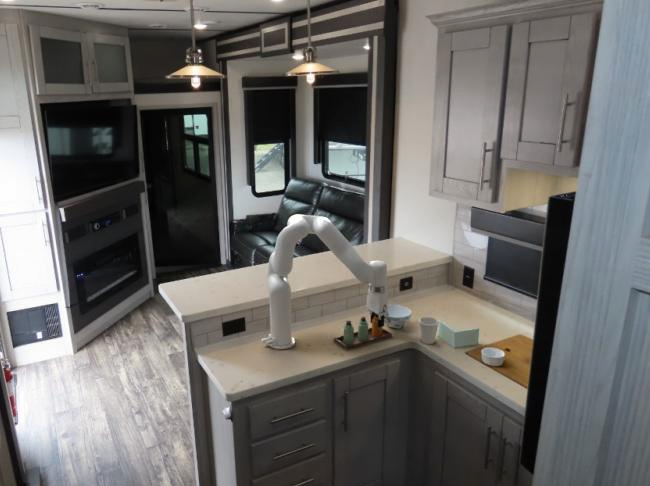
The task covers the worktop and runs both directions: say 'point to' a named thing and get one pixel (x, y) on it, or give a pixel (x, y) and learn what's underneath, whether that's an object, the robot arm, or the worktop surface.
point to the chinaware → (397, 316)
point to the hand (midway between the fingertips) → (377, 324)
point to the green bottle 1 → (348, 333)
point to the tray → (359, 343)
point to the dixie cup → (428, 329)
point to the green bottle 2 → (363, 329)
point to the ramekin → (492, 356)
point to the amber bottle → (376, 327)
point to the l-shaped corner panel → (458, 336)
